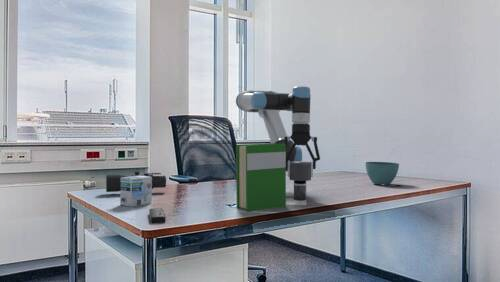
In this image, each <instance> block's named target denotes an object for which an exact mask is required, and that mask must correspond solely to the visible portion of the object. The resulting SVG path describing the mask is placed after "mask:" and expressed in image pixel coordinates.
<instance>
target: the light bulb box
mask: <svg viewBox="0 0 500 282" xmlns="http://www.w3.org/2000/svg"><path fill="white" fill-rule="evenodd" d="M141 175H142V174H141ZM141 175H140V174H139V176H135V175H131V176H132V177H131V176H129V177H122V178H121V187H120V191H119V192H120V195H119V196H120V202H119V203H120V206H126V207H130V208H132V207H137V206H138V207H139V206H144V205H149V204H152V195H153V193H152V192H153V191H152V190H153V189H152V177H149V176H141Z"/></svg>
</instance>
